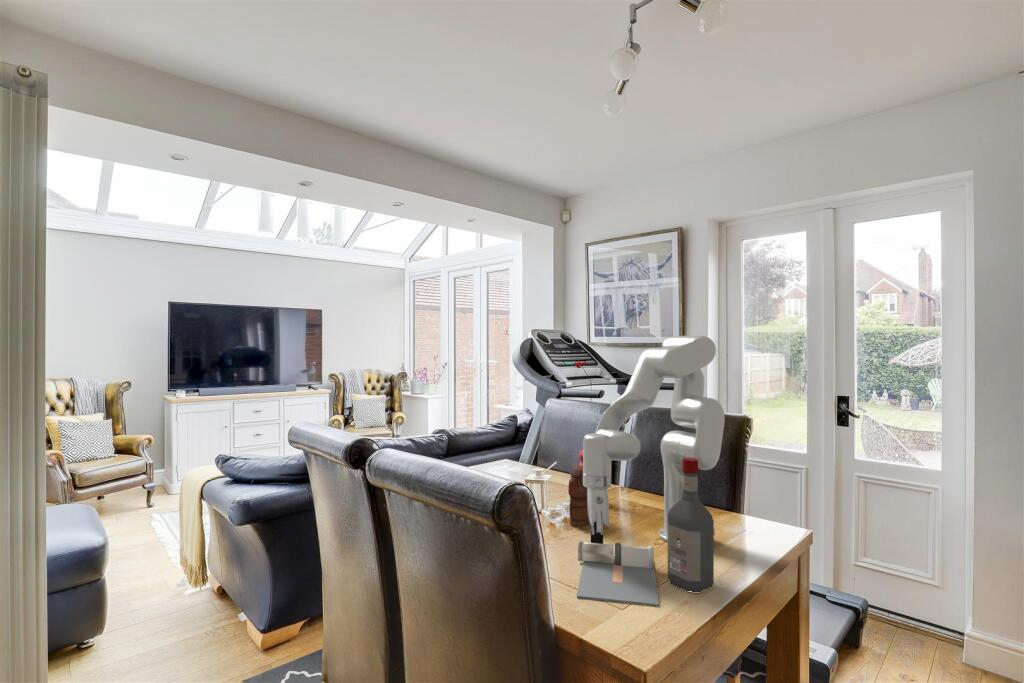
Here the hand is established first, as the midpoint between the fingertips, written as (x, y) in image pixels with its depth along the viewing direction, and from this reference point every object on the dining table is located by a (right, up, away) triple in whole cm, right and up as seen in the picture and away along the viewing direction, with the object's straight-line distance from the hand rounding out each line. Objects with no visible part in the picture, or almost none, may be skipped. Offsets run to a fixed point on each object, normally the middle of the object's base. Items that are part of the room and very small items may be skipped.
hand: (596, 548), depth 140 cm
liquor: (+20, -3, -15) cm, 25 cm away
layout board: (+3, -3, -12) cm, 13 cm away
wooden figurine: (0, -3, +29) cm, 29 cm away
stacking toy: (+5, -3, +51) cm, 52 cm away
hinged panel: (-1, -2, -4) cm, 4 cm away
